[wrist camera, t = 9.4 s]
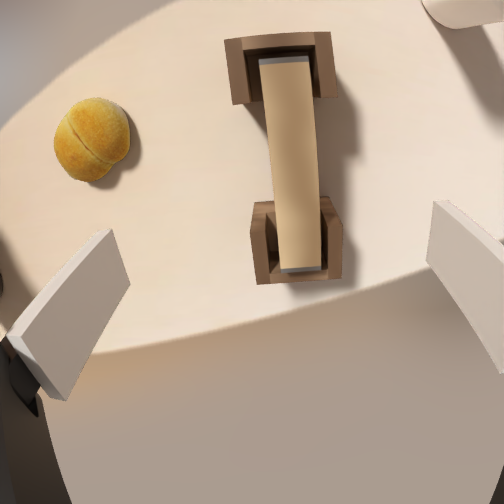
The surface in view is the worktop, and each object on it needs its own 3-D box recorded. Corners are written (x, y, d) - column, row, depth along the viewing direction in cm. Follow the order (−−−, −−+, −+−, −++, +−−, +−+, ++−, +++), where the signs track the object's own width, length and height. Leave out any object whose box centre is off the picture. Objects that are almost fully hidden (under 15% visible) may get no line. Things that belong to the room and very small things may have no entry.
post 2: (259, 246, 34) (256, 284, 27) (254, 202, 31) (249, 232, 25) (329, 241, 33) (341, 278, 27) (328, 196, 30) (342, 225, 24)
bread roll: (148, 137, 29) (132, 144, 25) (93, 188, 31) (74, 200, 28) (103, 79, 26) (83, 79, 22) (53, 134, 28) (32, 142, 25)
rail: (279, 241, 30) (280, 273, 25) (261, 66, 22) (258, 59, 17) (313, 239, 29) (321, 270, 25) (300, 63, 22) (308, 56, 17)
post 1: (316, 45, 23) (330, 31, 17) (322, 96, 26) (337, 97, 20) (234, 51, 24) (223, 39, 18) (241, 102, 26) (232, 105, 20)
